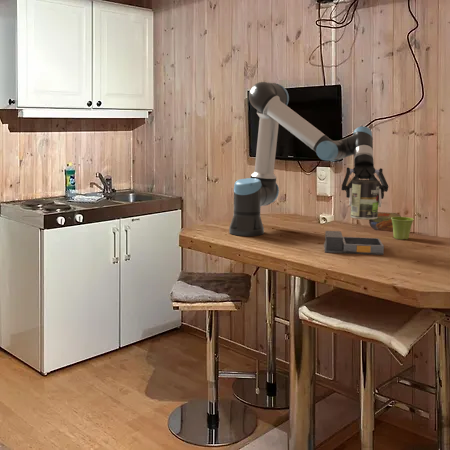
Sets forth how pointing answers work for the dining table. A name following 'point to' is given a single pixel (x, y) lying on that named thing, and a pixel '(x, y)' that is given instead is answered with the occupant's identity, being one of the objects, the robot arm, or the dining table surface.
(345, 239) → the grey tray
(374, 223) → the tin
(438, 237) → the dining table surface
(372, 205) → the coffee can
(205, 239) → the dining table surface
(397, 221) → the plant pot
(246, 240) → the dining table surface
